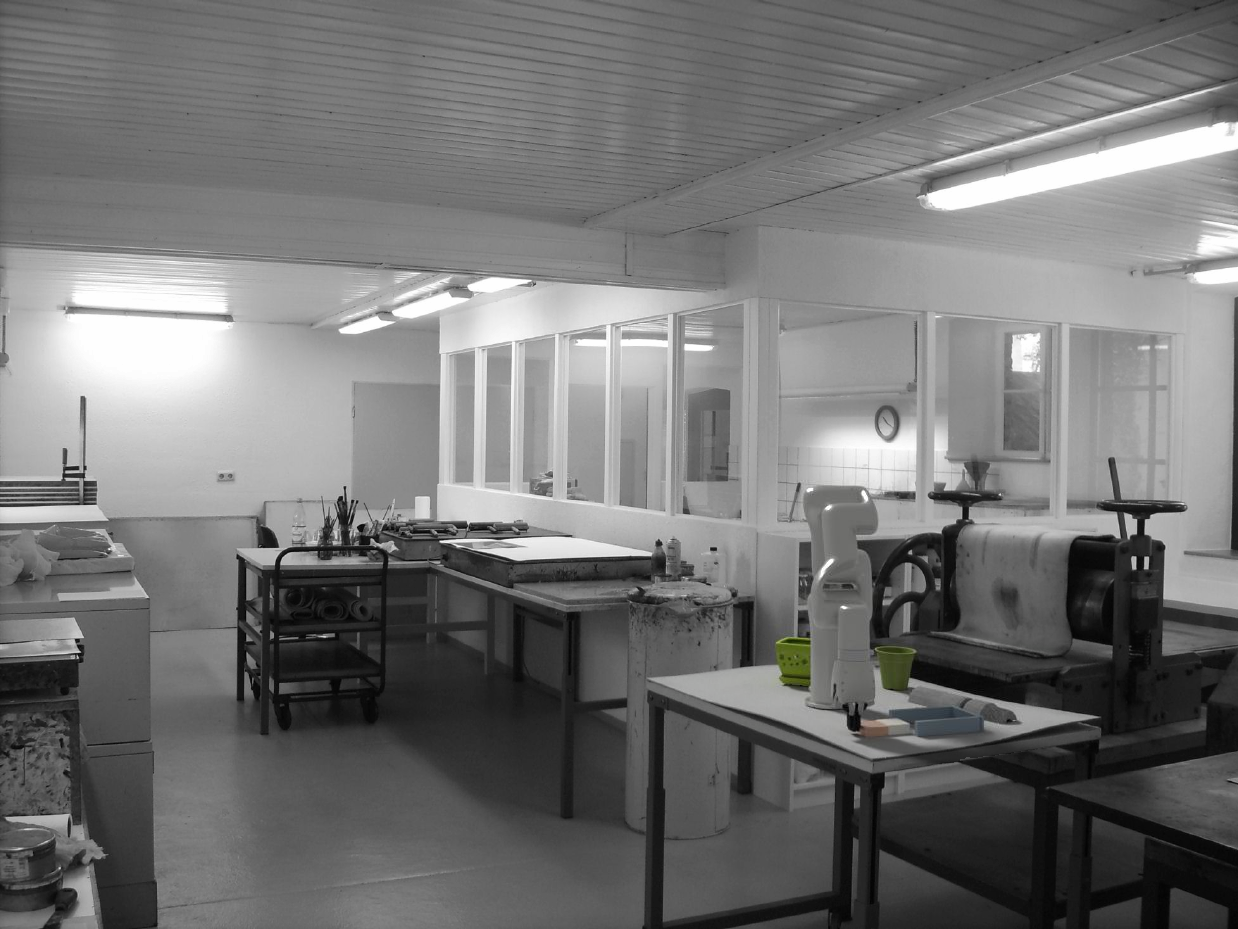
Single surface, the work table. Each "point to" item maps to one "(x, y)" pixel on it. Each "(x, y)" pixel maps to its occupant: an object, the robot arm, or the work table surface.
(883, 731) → the terracotta tile
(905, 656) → the plant pot
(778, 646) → the flower pot
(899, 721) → the cream tile
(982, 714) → the mechanical component
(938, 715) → the box
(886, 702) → the work table surface
